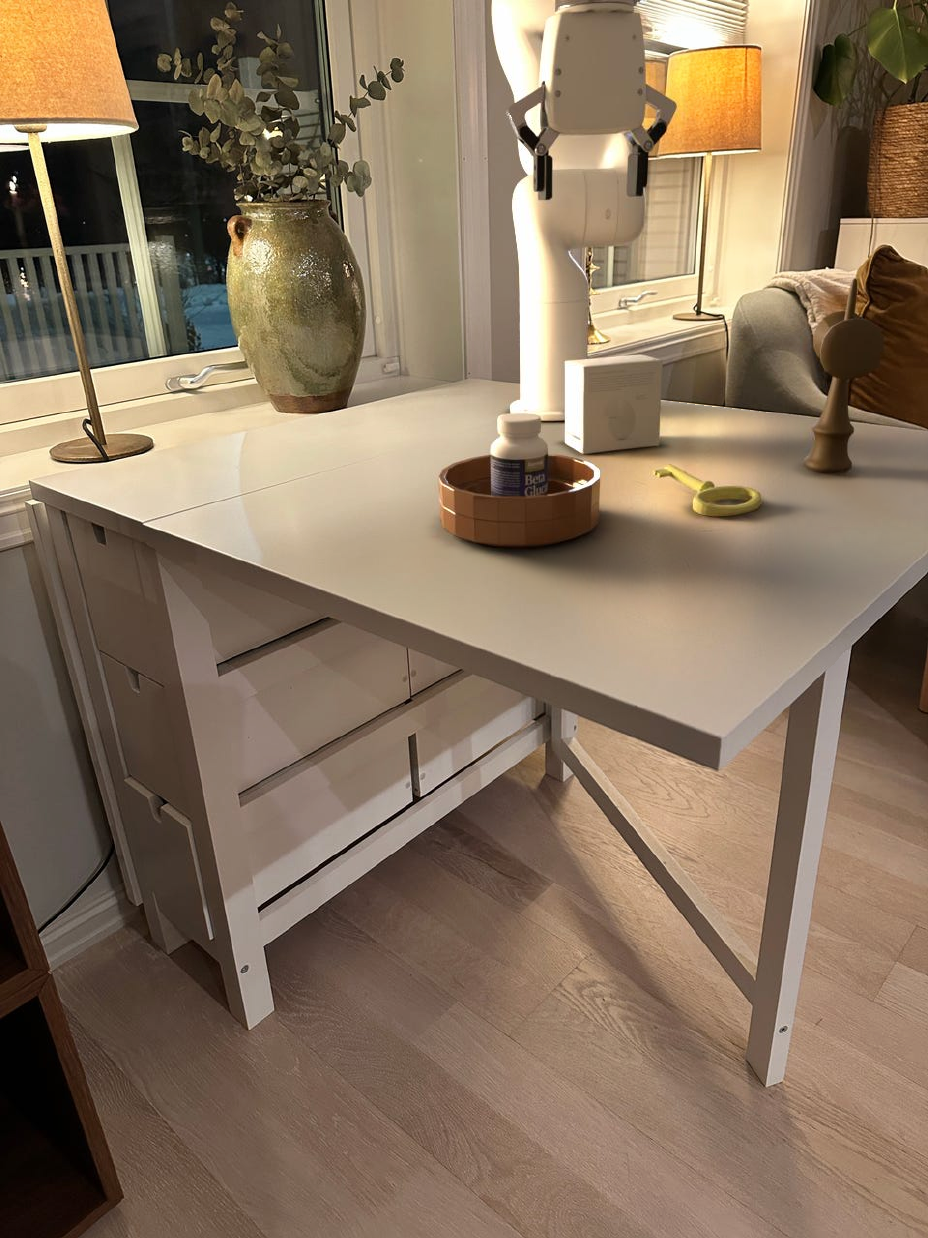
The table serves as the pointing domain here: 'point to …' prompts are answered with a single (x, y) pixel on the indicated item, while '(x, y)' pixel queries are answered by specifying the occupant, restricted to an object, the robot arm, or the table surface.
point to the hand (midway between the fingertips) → (590, 197)
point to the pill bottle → (519, 457)
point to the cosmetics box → (612, 403)
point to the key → (713, 494)
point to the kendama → (841, 380)
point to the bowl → (519, 504)
